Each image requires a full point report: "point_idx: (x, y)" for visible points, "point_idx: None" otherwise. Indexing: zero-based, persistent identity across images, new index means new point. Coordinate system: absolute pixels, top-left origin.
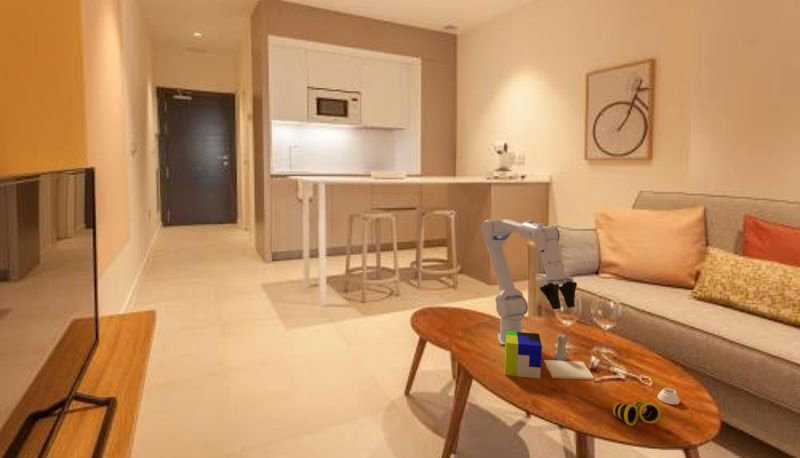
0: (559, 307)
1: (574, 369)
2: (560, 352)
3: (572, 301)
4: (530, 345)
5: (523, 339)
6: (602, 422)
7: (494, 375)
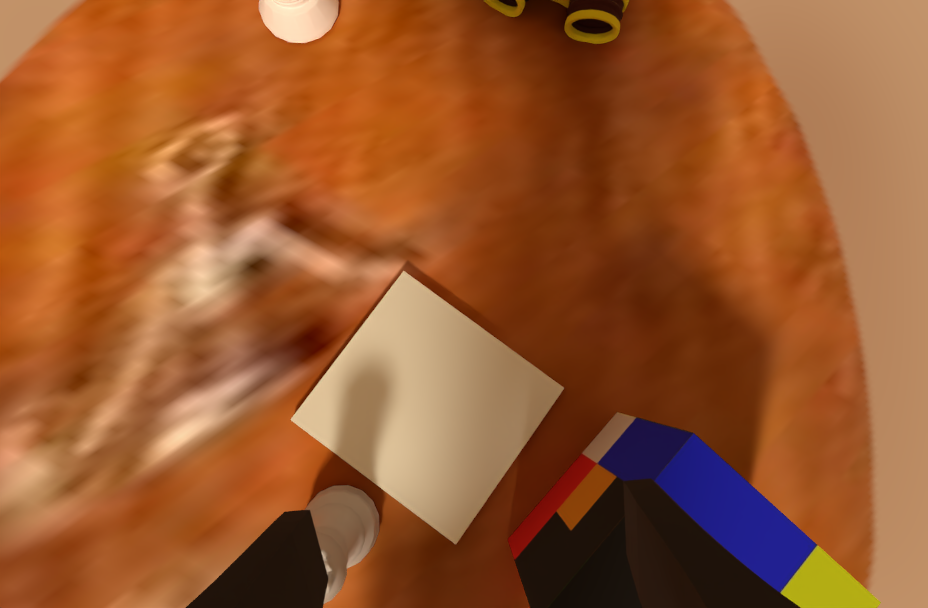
0: (645, 484)
1: (409, 378)
2: (357, 521)
3: (283, 561)
4: (750, 485)
5: None
6: (676, 46)
7: None
